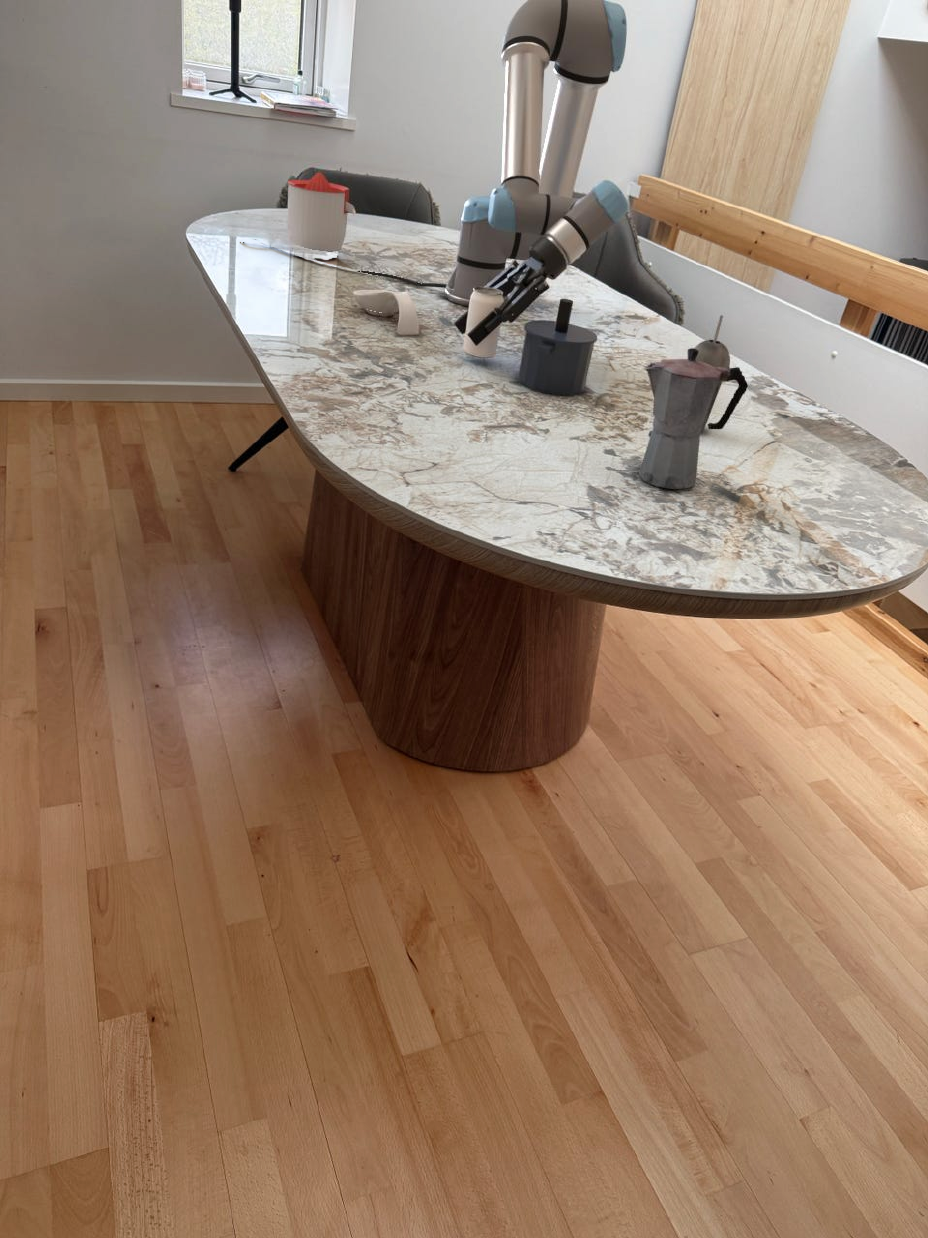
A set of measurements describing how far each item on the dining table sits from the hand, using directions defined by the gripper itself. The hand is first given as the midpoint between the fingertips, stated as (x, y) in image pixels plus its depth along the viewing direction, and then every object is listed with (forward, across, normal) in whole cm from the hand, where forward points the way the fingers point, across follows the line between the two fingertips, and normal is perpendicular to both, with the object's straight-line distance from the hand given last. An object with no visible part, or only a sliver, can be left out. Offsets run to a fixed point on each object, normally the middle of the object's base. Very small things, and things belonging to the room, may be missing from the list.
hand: (464, 334), depth 178 cm
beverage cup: (-18, -35, -25) cm, 47 cm away
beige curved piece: (+8, +27, +1) cm, 28 cm away
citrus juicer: (+9, +84, +2) cm, 85 cm away
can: (0, 0, -5) cm, 5 cm away
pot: (-6, -13, -13) cm, 19 cm away
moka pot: (-5, -56, -13) cm, 58 cm away
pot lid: (-13, -13, -6) cm, 19 cm away
